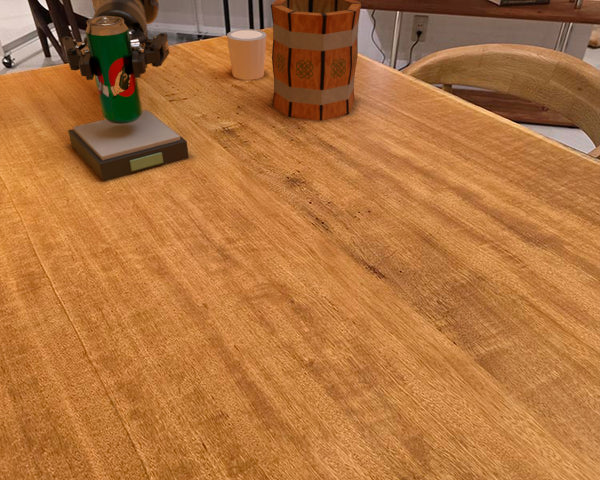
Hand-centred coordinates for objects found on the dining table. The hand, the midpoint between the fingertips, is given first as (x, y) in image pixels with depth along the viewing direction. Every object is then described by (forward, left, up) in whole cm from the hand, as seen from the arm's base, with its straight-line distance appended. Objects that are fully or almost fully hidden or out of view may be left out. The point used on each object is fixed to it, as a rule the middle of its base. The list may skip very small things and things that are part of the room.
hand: (112, 70), depth 72 cm
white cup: (+31, +20, -12) cm, 39 cm away
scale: (+1, +2, -12) cm, 12 cm away
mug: (+34, +5, -12) cm, 37 cm away
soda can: (+1, +2, -7) cm, 8 cm away
